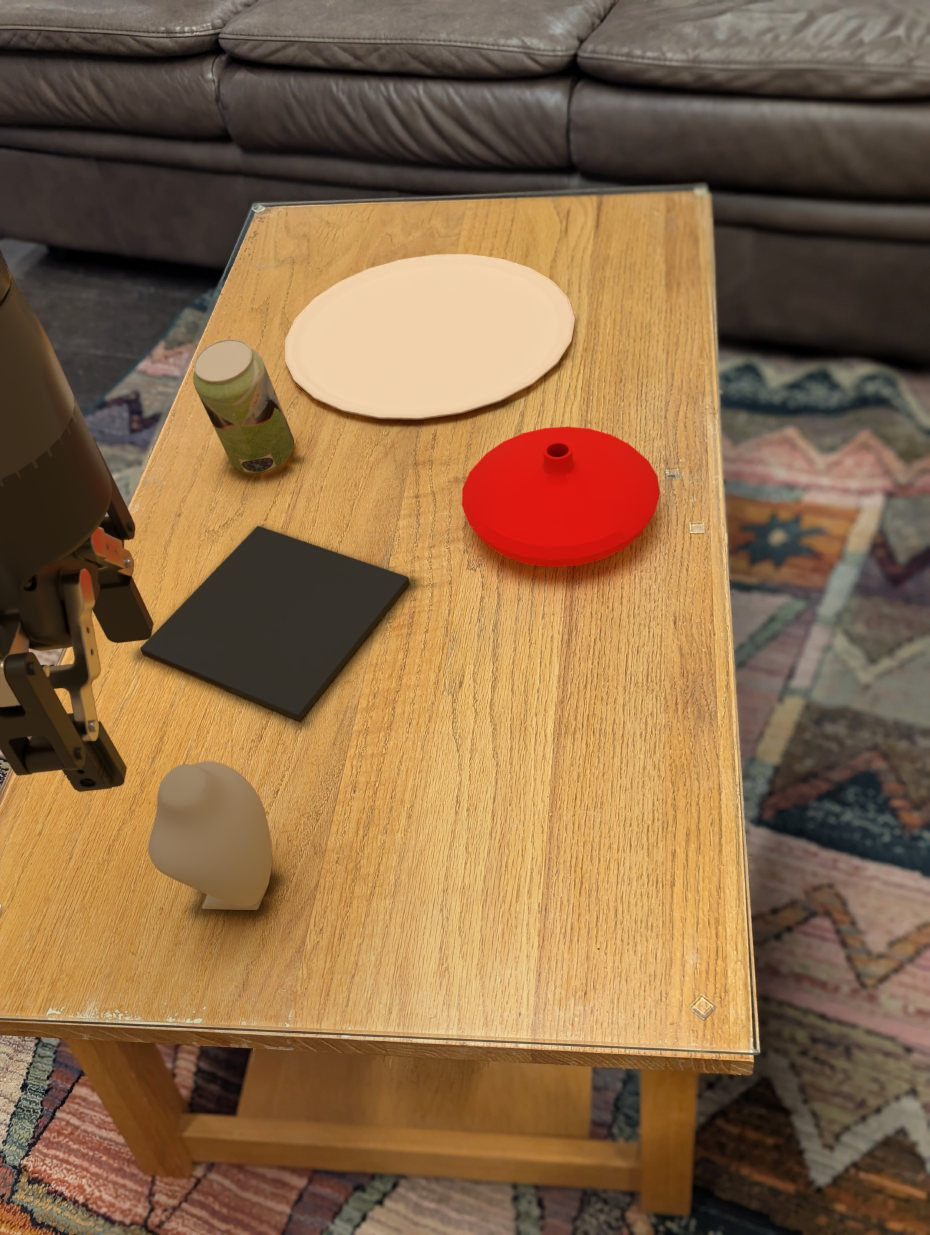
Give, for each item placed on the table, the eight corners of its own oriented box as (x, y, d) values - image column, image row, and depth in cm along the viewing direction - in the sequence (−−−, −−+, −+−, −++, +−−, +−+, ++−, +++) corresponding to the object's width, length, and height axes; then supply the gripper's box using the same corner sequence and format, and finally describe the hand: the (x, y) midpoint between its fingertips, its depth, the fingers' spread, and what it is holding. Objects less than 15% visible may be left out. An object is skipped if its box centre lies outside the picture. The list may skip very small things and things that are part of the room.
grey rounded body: (258, 954, 65) (203, 850, 56) (179, 937, 66) (113, 833, 57) (303, 846, 69) (258, 735, 61) (228, 832, 71) (174, 721, 62)
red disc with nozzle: (479, 455, 95) (472, 388, 90) (662, 458, 92) (665, 389, 87) (450, 583, 84) (440, 515, 79) (655, 591, 81) (658, 522, 76)
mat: (300, 722, 76) (297, 715, 76) (142, 655, 82) (139, 648, 82) (410, 583, 85) (408, 576, 84) (259, 532, 91) (257, 525, 90)
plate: (570, 253, 117) (569, 242, 116) (581, 416, 97) (581, 405, 96) (306, 273, 119) (303, 262, 119) (264, 436, 100) (261, 425, 99)
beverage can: (303, 437, 99) (273, 323, 90) (286, 490, 94) (252, 374, 85) (238, 438, 100) (201, 325, 91) (217, 490, 95) (177, 376, 86)
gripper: (-81, 324, 43) (69, 603, 55) (-214, 574, 33) (4, 848, 45) (104, 301, 43) (214, 587, 55) (25, 546, 33) (180, 829, 45)
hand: (119, 705), depth 50 cm, fingers open, 8 cm apart
